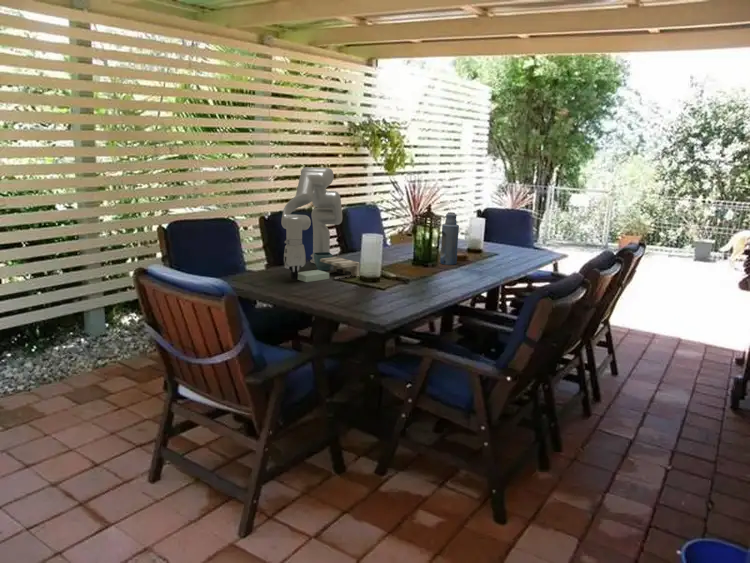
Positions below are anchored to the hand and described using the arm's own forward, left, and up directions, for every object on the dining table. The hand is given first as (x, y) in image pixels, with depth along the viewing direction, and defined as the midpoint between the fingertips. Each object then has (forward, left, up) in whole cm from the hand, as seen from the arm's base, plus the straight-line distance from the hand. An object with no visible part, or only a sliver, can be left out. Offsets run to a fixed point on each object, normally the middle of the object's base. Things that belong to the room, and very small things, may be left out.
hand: (294, 279), depth 289 cm
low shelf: (0, +26, -1) cm, 26 cm away
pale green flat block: (0, +10, -1) cm, 10 cm away
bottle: (+10, +100, -1) cm, 101 cm away
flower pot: (-16, +28, -1) cm, 32 cm away
